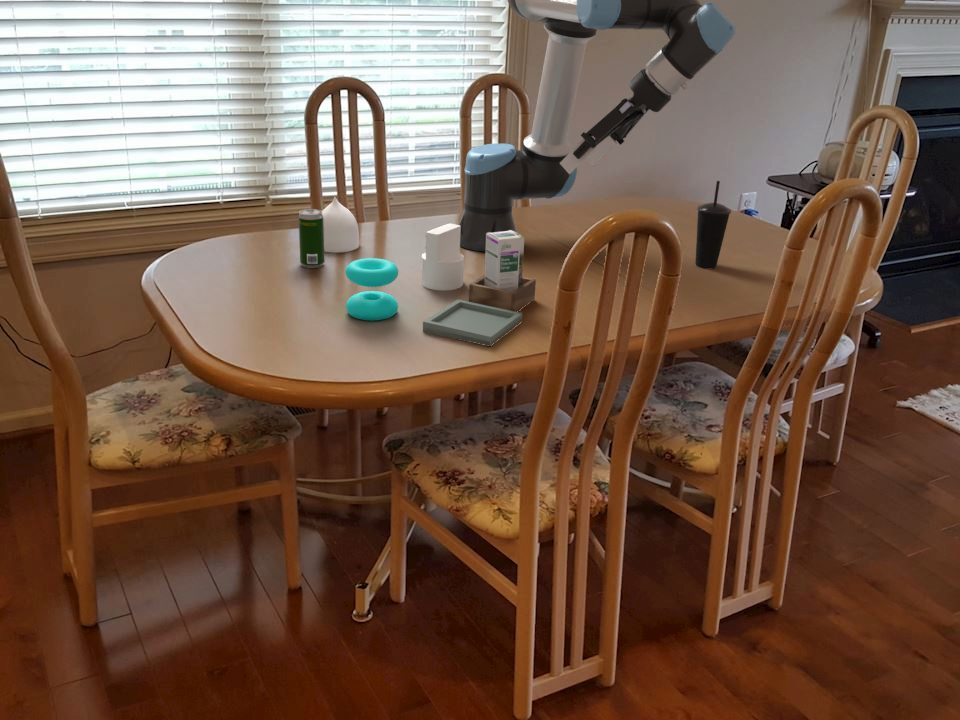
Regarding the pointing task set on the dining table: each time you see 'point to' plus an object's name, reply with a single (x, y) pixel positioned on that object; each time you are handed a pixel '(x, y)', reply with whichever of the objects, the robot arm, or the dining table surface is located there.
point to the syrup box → (504, 260)
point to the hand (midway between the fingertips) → (577, 165)
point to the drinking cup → (710, 231)
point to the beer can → (311, 238)
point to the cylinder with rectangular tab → (443, 259)
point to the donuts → (372, 302)
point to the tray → (472, 322)
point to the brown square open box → (502, 295)
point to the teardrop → (339, 229)
